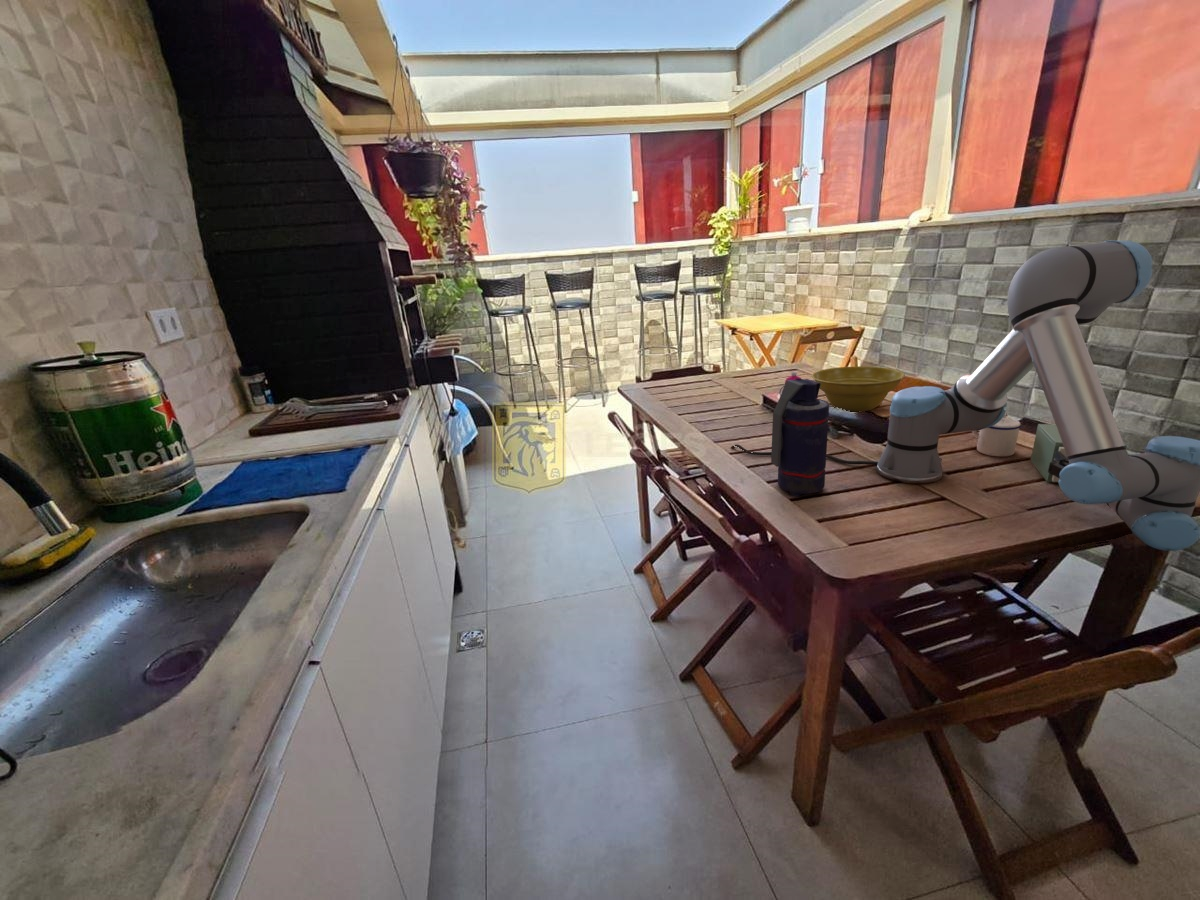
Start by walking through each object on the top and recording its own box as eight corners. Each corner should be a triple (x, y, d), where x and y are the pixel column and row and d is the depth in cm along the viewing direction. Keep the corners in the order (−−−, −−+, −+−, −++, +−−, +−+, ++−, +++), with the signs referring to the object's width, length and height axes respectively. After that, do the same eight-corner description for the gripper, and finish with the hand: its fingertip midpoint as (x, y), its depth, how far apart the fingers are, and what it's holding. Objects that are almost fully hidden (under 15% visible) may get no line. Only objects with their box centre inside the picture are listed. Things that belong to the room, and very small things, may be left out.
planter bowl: (820, 394, 215) (822, 364, 211) (905, 399, 197) (909, 366, 192) (801, 415, 191) (802, 381, 187) (896, 422, 173) (900, 385, 168)
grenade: (808, 476, 140) (812, 373, 129) (833, 493, 129) (841, 381, 118) (763, 484, 138) (764, 380, 128) (785, 502, 127) (788, 389, 117)
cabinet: (1115, 486, 117) (1127, 445, 113) (1046, 481, 122) (1056, 442, 119) (1091, 463, 129) (1101, 425, 125) (1030, 460, 134) (1038, 423, 131)
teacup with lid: (1023, 453, 139) (1031, 414, 135) (998, 459, 137) (1006, 420, 133) (982, 441, 150) (988, 404, 146) (958, 446, 148) (964, 409, 144)
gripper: (1050, 507, 104) (1022, 468, 122) (1212, 522, 94) (1155, 476, 112) (1058, 475, 102) (1028, 440, 120) (1225, 486, 91) (1165, 446, 109)
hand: (1089, 458), depth 116 cm, fingers closed on drawer, 11 cm apart
